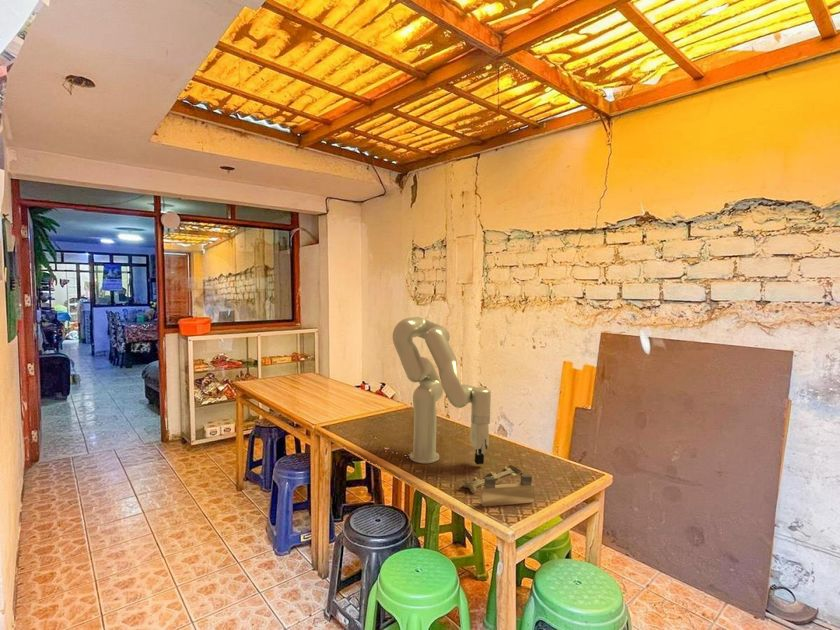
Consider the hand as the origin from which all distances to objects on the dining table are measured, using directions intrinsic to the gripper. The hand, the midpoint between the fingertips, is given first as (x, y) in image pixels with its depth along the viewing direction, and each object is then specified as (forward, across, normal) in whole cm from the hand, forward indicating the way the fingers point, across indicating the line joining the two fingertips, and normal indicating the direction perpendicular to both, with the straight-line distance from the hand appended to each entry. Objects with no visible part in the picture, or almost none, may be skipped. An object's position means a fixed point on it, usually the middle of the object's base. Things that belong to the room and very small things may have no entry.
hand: (479, 463), depth 170 cm
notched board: (+2, +29, 0) cm, 29 cm away
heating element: (+2, +12, +1) cm, 13 cm away
